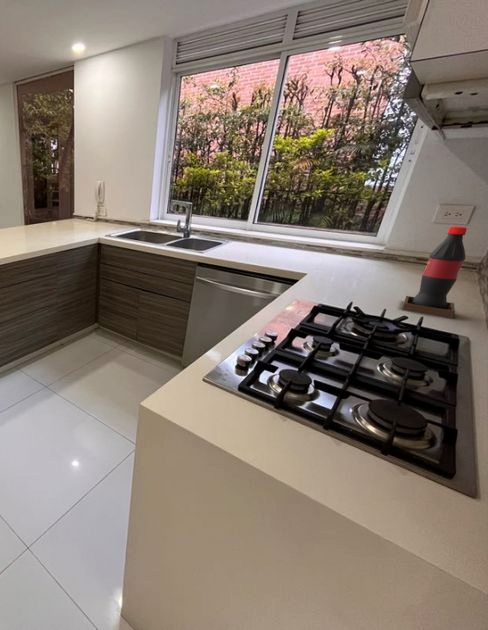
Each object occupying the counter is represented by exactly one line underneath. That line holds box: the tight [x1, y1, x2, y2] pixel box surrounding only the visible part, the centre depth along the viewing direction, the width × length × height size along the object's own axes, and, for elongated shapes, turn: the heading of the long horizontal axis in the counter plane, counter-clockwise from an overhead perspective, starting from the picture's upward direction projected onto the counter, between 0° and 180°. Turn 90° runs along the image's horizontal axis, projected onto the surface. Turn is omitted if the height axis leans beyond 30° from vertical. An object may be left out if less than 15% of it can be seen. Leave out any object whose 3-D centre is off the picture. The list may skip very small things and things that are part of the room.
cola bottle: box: [412, 226, 468, 309], centre depth 118 cm, size 8×8×30 cm
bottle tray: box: [401, 295, 456, 319], centre depth 123 cm, size 13×13×4 cm
